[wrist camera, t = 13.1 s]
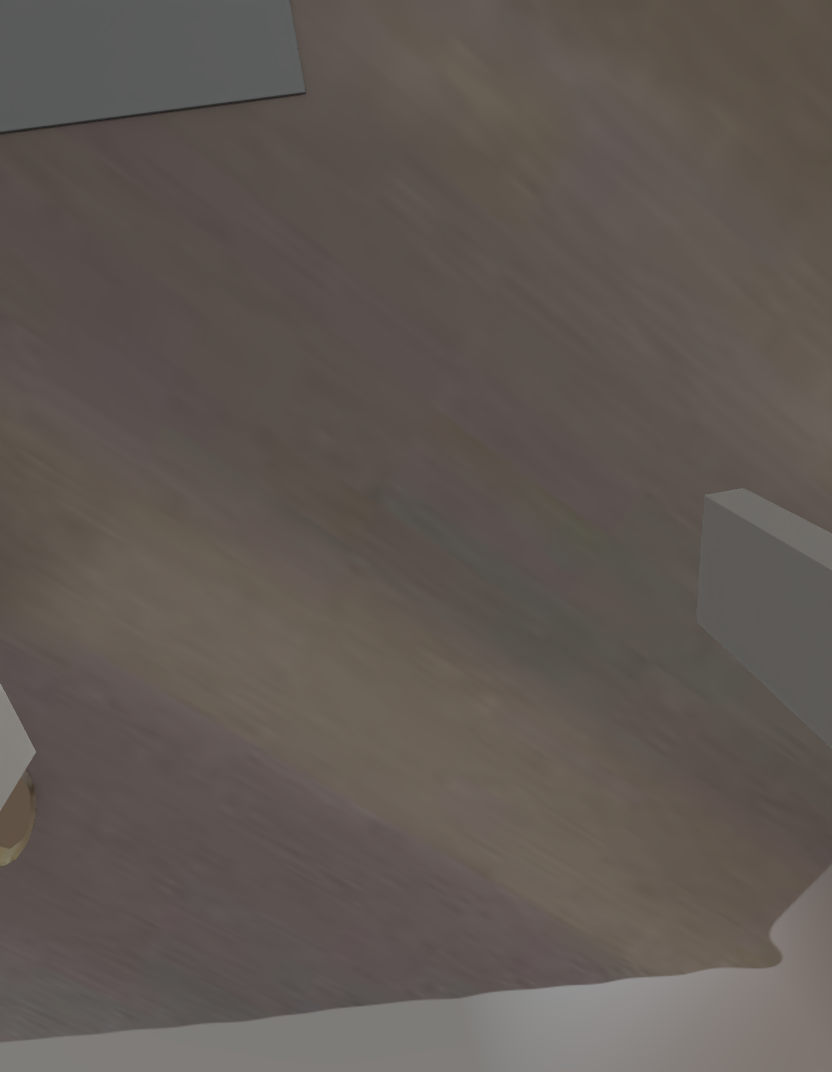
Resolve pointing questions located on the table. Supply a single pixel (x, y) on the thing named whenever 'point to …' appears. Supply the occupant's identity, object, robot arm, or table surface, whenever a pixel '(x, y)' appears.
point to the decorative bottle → (17, 819)
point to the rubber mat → (140, 57)
